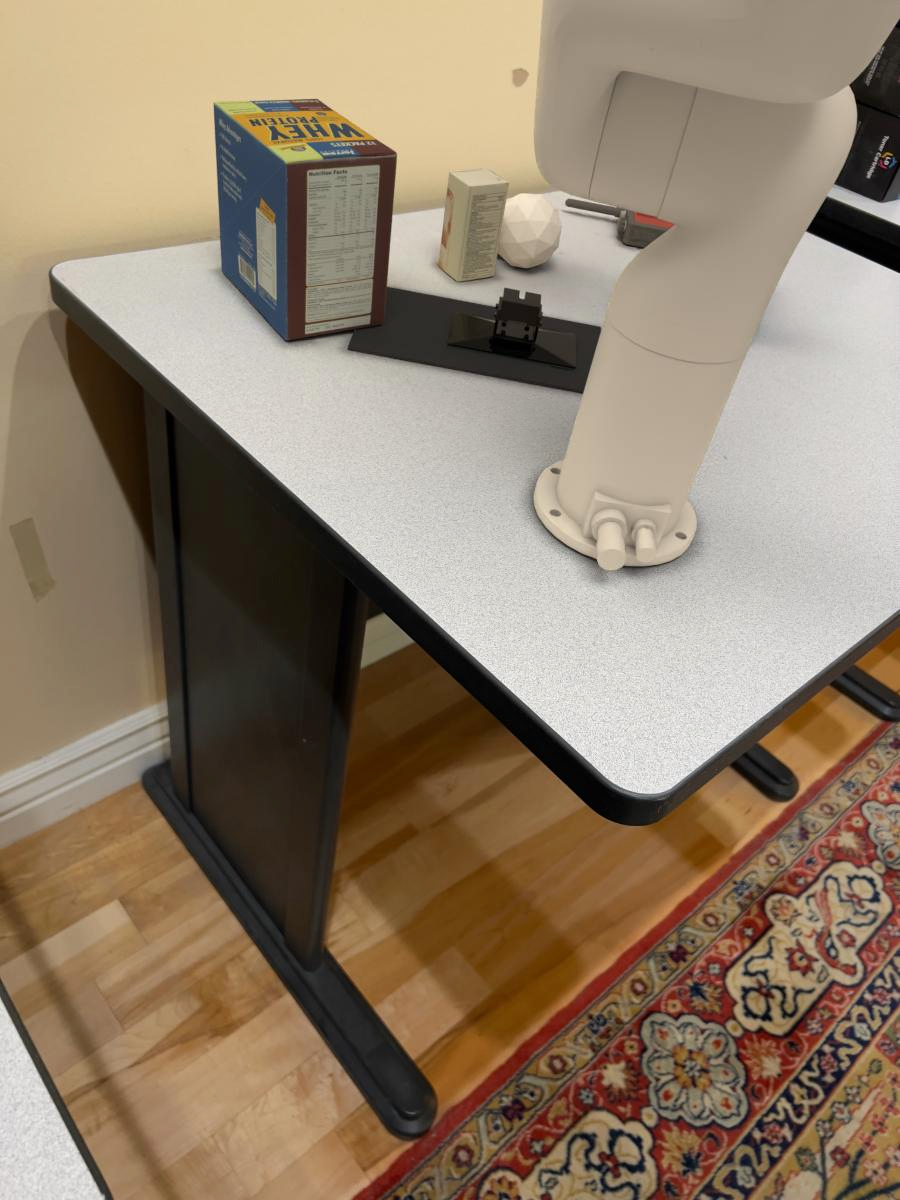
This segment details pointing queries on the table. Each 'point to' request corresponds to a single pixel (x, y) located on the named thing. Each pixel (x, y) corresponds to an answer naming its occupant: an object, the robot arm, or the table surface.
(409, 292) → the desk mat
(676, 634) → the table surface
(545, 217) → the geometric ball
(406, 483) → the table surface
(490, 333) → the build plate
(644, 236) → the walkie-talkie
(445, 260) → the printed cream carton
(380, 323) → the protein box
